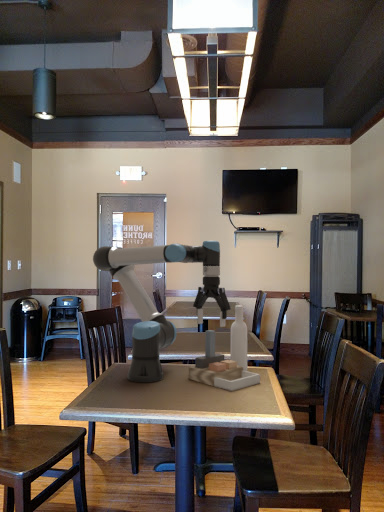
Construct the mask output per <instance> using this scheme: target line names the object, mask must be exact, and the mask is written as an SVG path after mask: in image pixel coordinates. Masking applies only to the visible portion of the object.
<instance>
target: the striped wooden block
mask: <svg viewBox="0 0 384 512" xmlns="http://www.w3.org/2000/svg"><path fill="white" fill-rule="evenodd" d="M242 371H243V367H242V366H237V368H233V369H226V370H224V371H220V372H216V371H212V370H209V367H208V368H204V369H201V368H197V367H195V365H192V366H188V380H191V381H194V382H198V383H202V384H205V385H209V386H213V387H215V386H214V377H218V378H221V379H225V380H229V381H231V380H235V379H239V378H242Z"/></svg>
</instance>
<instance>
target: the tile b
mask: <svg viewBox="0 0 384 512" xmlns="http://www.w3.org/2000/svg"><path fill="white" fill-rule="evenodd" d="M220 363H224V364H226V369H233V368H237V362H236V361H232V360H230V359H224V361H220Z"/></svg>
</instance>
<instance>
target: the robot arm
mask: <svg viewBox="0 0 384 512" xmlns="http://www.w3.org/2000/svg"><path fill="white" fill-rule="evenodd" d="M220 247H221V245H220V241H217V240H203V242H202V244H201V245H187V244H180V243H172V244H162V245H152V246H151V245H150V246H139V247H138V246H137V247H125V248H124V247H120V246H106V245H105V246H100V247H98V248H97V249H96V250H95V251H94V253H93V255H92V261H93V264H94V266H95V268H97V269H98V270H100V271H102V272H109V274H110V275H111V277H112V278H113V280H115V281H116V280H117V281H118V282H119V285H120V286H121V287H122V289H123V291H124V293H125V294H126V296H127V298H128V300H129V302H130V303H131V305H132V307H133V309H134V310H135V312H136V314H137V315H138V317H139V318H140V322H137V323H135V324H134V325H133V326H132V333H131V340H132V341H131V342H132V343H131V346H132V347H131V349H132V350H131V362H130V365H129V368H128V372H127V379H128V380H129V381H131V382H135V383H155V382H159V381H162V380H163V379H164V370H163V367H162V364H161V361H160V350H161V349H163V348H167V347H169V346H171V345H173V343H174V342H175V341H176V338H177V335H178V334H177V328H176V325H175V324H174V323H173V322H172V321H170V320H167V318H166V317H165V315H164V313H160V312H159V311H158V309H157V307H156V306H155V304H154V303H153V301H152V299H151V298H150V295H148V293H147V291H146V290H145V288H144V286H143V285H142V282H141V281H140V280H139V278H138V276H137V274H136V273H135V268H136V267H135V265H138V266H139V265H149V264H150V265H152V264H154V265H155V264H165V263H166V264H169V263H183V264H188V263H189V264H190V263H192V264H193V263H196V264H197V263H201V264H202V276H203V277H202V285H203V286H198V289H197V293H196V297H195V299H194V301H193V305H192V307H193V308H196V317H197V318H196V319H197V323H196V324H197V325H200V324H203V323H204V321H203V320H204V308H203V306H204V305H205V303H206V301H207V300H208V298H211V299H213V300H215V302H216V303H217V305H218V308H219V309H220V310H219V328H223V327H226V320H227V318H228V317H227V316H228V314H227V313H228V311H231V305H230V302H229V299H228V297H227V295H226V289H225V287H219V286H220V284H221V277H220V275H221V264H220V263H221V248H220Z"/></svg>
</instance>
